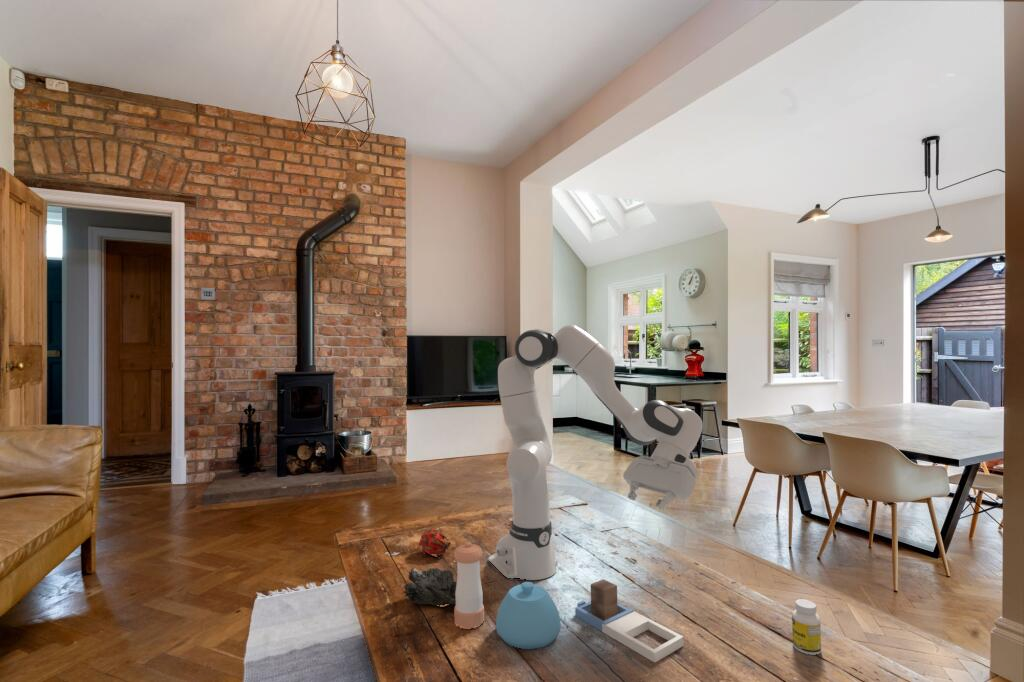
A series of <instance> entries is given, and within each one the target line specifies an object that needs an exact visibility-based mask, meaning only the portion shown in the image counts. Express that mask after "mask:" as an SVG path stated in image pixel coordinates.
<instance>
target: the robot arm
mask: <svg viewBox="0 0 1024 682" xmlns="http://www.w3.org/2000/svg"><path fill="white" fill-rule="evenodd" d="M514 353H515V355H513V356H511V357H507V358H505V359H503V360H501V362H499V365H498V367H497V382H498V392H499V398H500V402H501V409H502V413H503V419H504V423H505V426H507V429H508V430H509V433H510V437H511V438H512V439H511V440H512V441H513V447H512V448H511V449H510V450H509V453H508V456H507V458H506V463H505V464H506V470H507V473H508V477H509V478H508V479H509V484H510V490H511V497H512V520H511V521H508V522H507V523H508V524H507V526H508V527H509V526H510V528H509V532H508V533H507V534H506V535H504V536H502V537H501V538H500V539H499V540H498V541H497V542H496V547H495V553H493V554H492V555H490V556H489V557H488V559H487V560H489V561H490V562H491V563H492V564H493V565H494V566H495V567H496V568H497V569H498V570H499V571H500V572H501V573H502V574H503V575H504V576H506V577H507V578H520V579H519V580H524V579H526V580H525V581H538V580H544V579H547V578H551V577H552V576H553V575H555V574H556V572H557V565H558V559H557V558H556V557H555V545H554V539H553V536H552V534H553V531H552V530H553V526H552V522H551V511H550V509H551V506H550V505H551V504H550V500H551V499H550V494H549V489H548V482H547V467H548V466H549V464H550V462H552V457H553V451H552V449H553V448H552V446H551V443H550V439H549V436H548V433H547V432H548V431H547V430H546V427H545V424H544V421H543V417H542V413H541V408H540V402H539V398H538V394H537V388H536V384H535V371H536V370H539V369H540V368H542V367H544V366H545V365H548V364H549V363H550V362H552V361H553V360H554V359H559V360H561V361H562V362H564V363H565V364H567V366H569V367H570V368H571V370H573V371H574V372H575V373H576V374H577V375H578V376H579V377H580V378H581V379H582V380H583V382H585V383H586V385H588V387H589V388H590V390H591V392H592V393H593V394H594V395H595V397H596V398H597V399H598V400H599V401H600V402H601V403H602V404H603V405H604V406H605V408H606V409H607V411H609V412H610V413H611V414H612V415H613V416H614V418H615V419H616V420H617V421H618V422H619V423H620V425H621V427H622V428H623V431H624V433H625V435H626V436H627V438H628V439H629V440H630V441H631V442H632V443H633V444H637V445H639V446H647V445H648V446H649V445H650V444H652V443H653V442H655V441H656V440H657V441H658V444H657V445H656V447H655V448H654V450H653V452H652V454H651V456H647V455H644V454H641V455H640V456H637V457H634V459H633V460H632V461H631V463H629V465H628V466H627V467H626V469H625V471H624V472H623V475H622V477H623V479H624V480H625V482H626V483H627V484H628V485H629V491H628V494H627V498H628V499H629V500H632V501H635V500H636V499H637V497H638V495H637V493H636V491H638V490H639V488H640V489H645V490H649V491H652V492H656V493H658V494H659V493H660V494H662V495H665V496H664V497H663V498H661V499H660V498H659V499H658V500H657V502H656V503H655V506H656V507H657V508H658V509H660V510H664V509H665V508H666V505H668V504H670V503H671V502H673V501H674V500H675V498H677V499H679V500H683V501H685V500H688V499H689V498H690V497H691V496H692V494H693V491H694V489H695V488H696V484H697V479H698V478H699V477H700V472H699V470H698V468H697V466H696V465H695V463H693V461H692V460H691V458H690V454H691V452H692V451H693V450H694V449H695V448H696V446H697V443H698V442H699V440H700V437H701V436H702V435H701V434H702V431H703V425H704V424H703V421H702V418H701V416H699V415H698V414H697V413H696V412H695V410H692V409H690V408H688V407H684V408H683V407H682V408H680V407H677V406H676V407H675V406H672V405H669V404H668V403H667V402H666V401H663V400H661V399H653V400H650V401H648V402H646V403H644V405H642V406H641V407H639V408H636V407H635V406H634V405H633V404H632V403H631V402H630V401H629V400H628V398H626V396H625V395H624V394H623V393H622V392H621V391H620V390H619V388H618V387H617V385H616V382H615V370H616V364H615V363H616V362H615V359H614V357H613V355H612V354H611V353H610V351H609V350H608V349H607V348H606V347H605V346H604V345H603V344H601V343H600V341H598V340H597V339H596V338H595V337H594V336H592V335H591V334H590V333H588V332H587V331H585V330H584V329H583V328H581V327H579V326H578V325H576V324H567V325H564V326H562V327H561V328H560V329H559V330H557V332H555V333H550V332H548V331H545V330H543V329H537V328H535V329H530V330H527V331H523V332H522V333H521V334H520V335H519V336H518V338H517V339H516V341H515V343H514ZM489 561H488V562H489ZM490 562H489V563H490ZM491 563H490V564H491ZM492 564H491V565H492ZM493 565H492V566H493ZM494 566H493V567H494ZM495 567H494V568H495ZM496 568H495V569H496ZM497 569H496V570H497ZM498 570H497V571H498ZM499 571H498V572H499ZM500 572H499V573H500ZM501 573H500V574H501ZM502 574H501V575H502ZM504 576H503V577H504ZM507 578H506V579H507Z"/></svg>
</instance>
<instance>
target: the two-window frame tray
mask: <svg viewBox="0 0 1024 682" xmlns="http://www.w3.org/2000/svg"><path fill="white" fill-rule="evenodd" d="M574 611H575V613H574V614H575V617H577V618H578V619H580V620H582V621H583V622H585V623H586V624H588V625H590V626H592V627H594V628H595V629H596V630H598V631H600V632H602V633H604V634H605V635H607V636H609V637H610V638H611V639H614V640H616V642H617V641H618V642H619V643H621V644H623V645H624V646H626V647H628V648H629V649H631V650H632V651H634V652H636V653H637V654H638V655H639V654H640V655H641V656H643V657H645V658H646V659H648V660H650V661H651V662H652V663H657V662H659V661H661V660H662V659H664V658H665V657H667V656H669V655H670V654H672V653H674V652H676V651H678V650H679V649H681V648H682V647H684V646H685V641H684V639H685V637H684V636H683V635H681V634H679V633H678V632H675V631H673V630H672V629H670V628H668V627H666V626H664V625H661V624H660V623H658V622H656V621H654V620H652V619H650V618H648V617H647V616H644V615H643V614H640V613H638V612H636V611H635V609H633V608H629V607H627V606H625V605H622V604H621V603H619V602H617V612H618V615H615V616H613V617H611V618H609V619H607V620H605V621H603V620H601V619H599V618H598V617H596V616H594V615H592V614H591V600H590V601H587V602H586V601H585V600H581V601H579V602H577V606H576V607H574ZM646 631H650V632H652V633H653V634H655V635H657V636H659V637H661V638H663V639H664V640H666V642H664V643H662V644H661V645H659V646H657V647H656V648H652V647H651V646H650V645H647V644H646V643H644V642H642V641H641V640H639V639H637V638H635V637H636V636H637V637H638V636H639V635H641V634H643V633H644V632H646Z"/></svg>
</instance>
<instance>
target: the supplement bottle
mask: <svg viewBox="0 0 1024 682" xmlns="http://www.w3.org/2000/svg"><path fill="white" fill-rule="evenodd" d="M794 602H795V603H794V605H795V609H794V610H793V611H792V614H791V619H792V620H791V625H792V626H791V627H792V628H791V629H792V645H793V647H794V649H796V650H797V651H798V652H800V653H802V654H804V653H805V655H808V654H809V655H808V656H817V655H819V654H821V653H822V652H821V651H822V632H821V631H822V630H821V625H822V624H821V618H820V615H818V613H817V605H816V603H815V602H813V601H811V600H808V599H806V598H805V599H802V598H800V599H799V598H798V599H797V600H795V601H794ZM816 654H817V655H816Z"/></svg>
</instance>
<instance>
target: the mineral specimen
mask: <svg viewBox="0 0 1024 682" xmlns="http://www.w3.org/2000/svg"><path fill="white" fill-rule="evenodd" d="M408 573H409V574H408V580H409V582H407V583H406V584H405V585H404V589H405V591H403V594H404V597H408V599H410V601H411V602H413V603H414V604H418V605H428V604H432V605H431V606H435V605H439V606H440V605H445V604H449V605H450V604H451V605H456V596H455V592H456V585H457V581H454V580H455V579H454V573H453V571H452V570H450V569H449V570H448V569H445V570H441V569H440V568H438V567H436V568H435V567H433V568H432V567H431V568H429V569H426V570H422V571H421V570H418V569H416V568H415V567H414V566H413V567H412V568H411V569H410V571H408ZM410 581H411V582H410ZM451 605H450V606H451Z"/></svg>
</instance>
